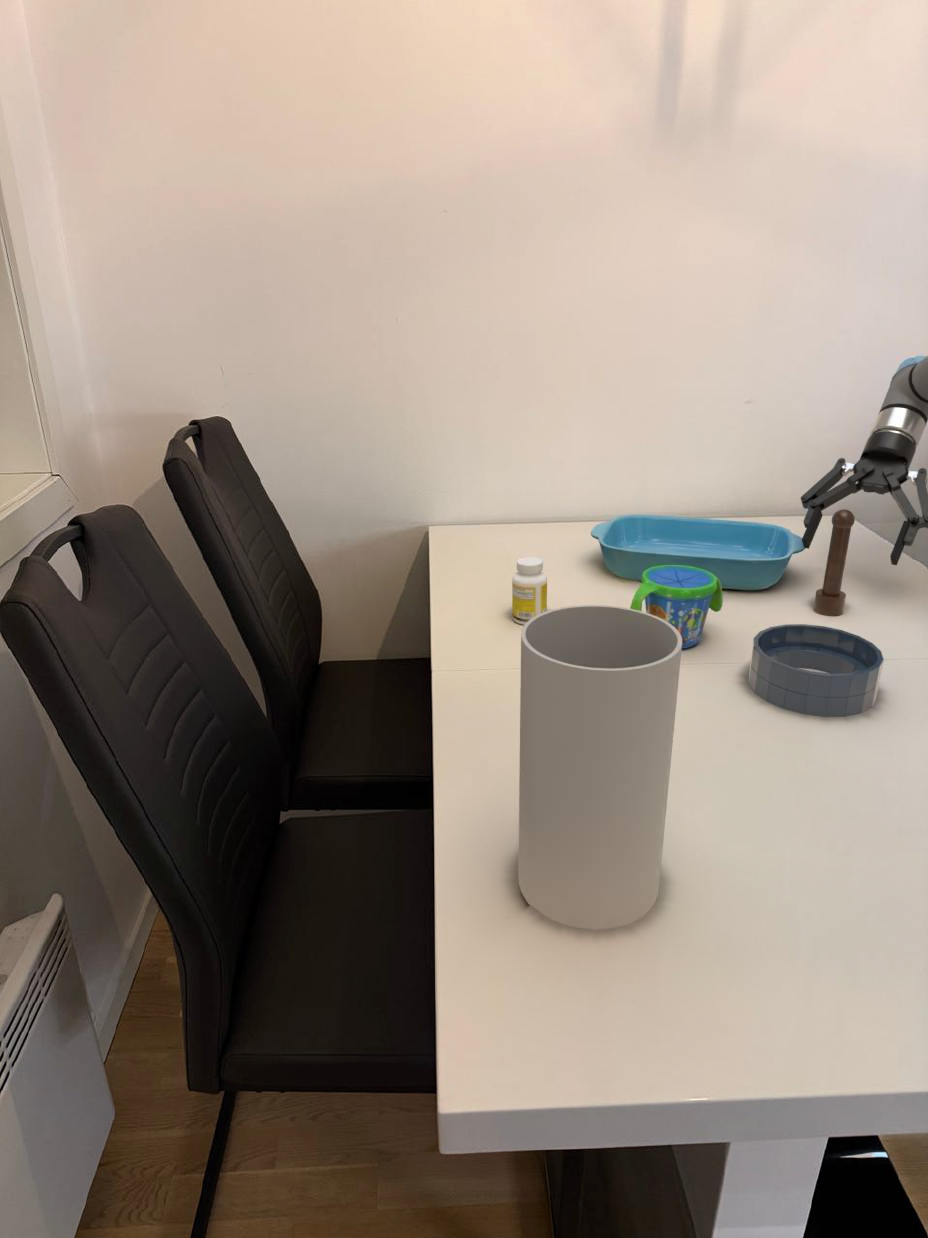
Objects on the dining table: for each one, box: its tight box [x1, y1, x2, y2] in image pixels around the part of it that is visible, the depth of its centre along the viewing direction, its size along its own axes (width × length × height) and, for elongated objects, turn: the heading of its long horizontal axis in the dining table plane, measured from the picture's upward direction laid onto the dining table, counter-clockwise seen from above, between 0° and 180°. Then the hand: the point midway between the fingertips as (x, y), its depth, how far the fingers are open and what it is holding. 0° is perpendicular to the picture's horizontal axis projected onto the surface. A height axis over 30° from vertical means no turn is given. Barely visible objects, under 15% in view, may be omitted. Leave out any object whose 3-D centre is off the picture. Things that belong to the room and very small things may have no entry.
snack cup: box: [629, 565, 724, 649], centre depth 122 cm, size 16×10×10 cm
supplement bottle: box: [511, 556, 548, 626], centre depth 130 cm, size 5×5×10 cm
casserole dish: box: [590, 514, 806, 591], centre depth 150 cm, size 37×22×7 cm, turn 71°
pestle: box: [812, 508, 856, 617], centre depth 130 cm, size 4×4×17 cm
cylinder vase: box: [517, 604, 683, 931], centre depth 71 cm, size 12×12×25 cm
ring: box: [748, 623, 885, 718], centre depth 107 cm, size 15×15×6 cm
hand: (847, 552), depth 134 cm, fingers open, 13 cm apart
